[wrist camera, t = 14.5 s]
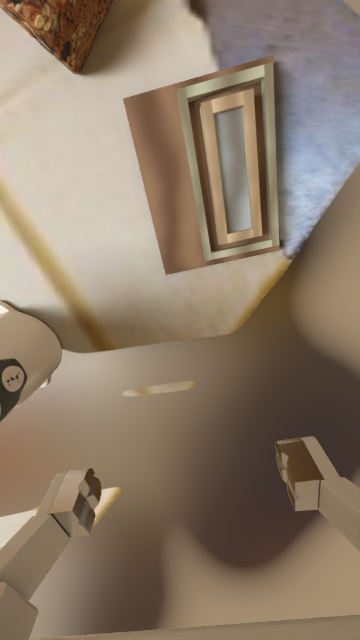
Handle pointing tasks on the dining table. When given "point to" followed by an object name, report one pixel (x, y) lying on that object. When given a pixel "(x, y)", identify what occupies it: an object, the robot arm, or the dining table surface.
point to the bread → (60, 25)
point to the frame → (233, 165)
